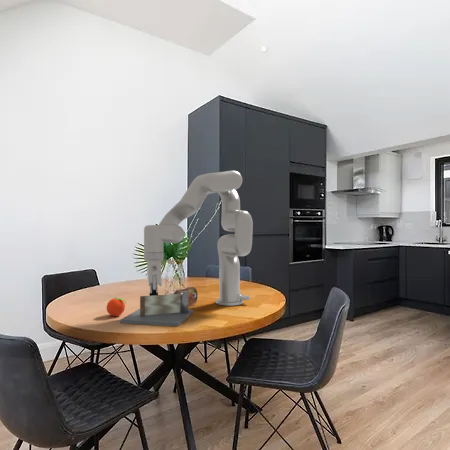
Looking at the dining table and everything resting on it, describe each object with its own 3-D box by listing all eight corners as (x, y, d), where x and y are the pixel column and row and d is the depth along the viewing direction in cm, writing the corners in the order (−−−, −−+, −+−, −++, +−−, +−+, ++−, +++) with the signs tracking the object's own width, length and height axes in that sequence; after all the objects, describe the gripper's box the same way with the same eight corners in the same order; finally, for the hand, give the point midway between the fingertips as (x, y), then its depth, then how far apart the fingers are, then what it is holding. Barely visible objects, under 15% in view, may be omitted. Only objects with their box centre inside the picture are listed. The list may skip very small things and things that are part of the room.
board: (192, 312, 136) (192, 309, 136) (178, 326, 117) (178, 322, 117) (142, 310, 139) (142, 307, 139) (120, 323, 121) (120, 319, 121)
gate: (179, 311, 131) (179, 293, 131) (179, 312, 130) (179, 294, 130) (140, 314, 126) (140, 296, 126) (140, 315, 125) (140, 297, 125)
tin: (176, 311, 138) (176, 290, 138) (170, 310, 140) (170, 290, 140) (198, 304, 151) (198, 285, 151) (192, 303, 153) (192, 285, 153)
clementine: (130, 314, 133) (130, 296, 133) (122, 318, 127) (122, 300, 127) (112, 313, 135) (112, 295, 135) (103, 317, 128) (103, 299, 128)
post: (189, 314, 132) (189, 290, 132) (187, 316, 129) (187, 292, 129) (181, 314, 133) (182, 290, 133) (179, 316, 130) (179, 292, 130)
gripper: (165, 257, 124) (165, 307, 124) (162, 254, 138) (162, 298, 138) (144, 258, 122) (144, 308, 122) (143, 255, 137) (143, 299, 136)
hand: (153, 303), depth 130 cm, fingers closed
